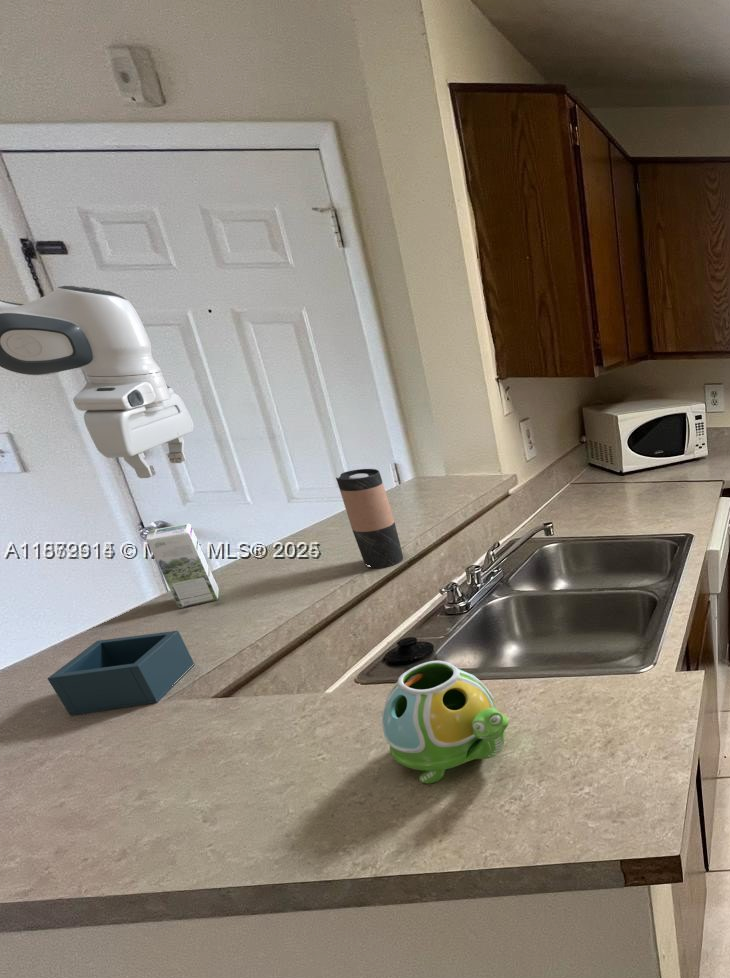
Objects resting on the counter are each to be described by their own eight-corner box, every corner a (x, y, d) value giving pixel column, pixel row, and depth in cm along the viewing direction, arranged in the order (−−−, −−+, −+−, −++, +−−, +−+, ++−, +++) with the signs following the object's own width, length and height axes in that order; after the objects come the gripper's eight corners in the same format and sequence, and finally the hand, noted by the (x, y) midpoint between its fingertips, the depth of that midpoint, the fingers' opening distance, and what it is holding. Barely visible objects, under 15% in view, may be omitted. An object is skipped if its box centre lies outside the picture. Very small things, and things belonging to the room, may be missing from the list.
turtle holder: (468, 811, 72) (444, 732, 67) (372, 761, 79) (345, 687, 74) (549, 745, 82) (533, 672, 77) (458, 706, 89) (438, 637, 84)
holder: (69, 715, 87) (46, 678, 84) (116, 675, 95) (97, 640, 93) (157, 702, 90) (137, 666, 87) (195, 664, 98) (178, 630, 96)
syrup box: (219, 589, 121) (190, 521, 115) (219, 600, 117) (188, 531, 111) (180, 597, 118) (148, 528, 112) (178, 609, 114) (144, 538, 108)
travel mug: (412, 559, 135) (387, 472, 126) (375, 572, 129) (347, 481, 120) (393, 551, 138) (367, 466, 130) (356, 564, 132) (327, 475, 124)
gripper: (146, 381, 112) (175, 455, 117) (64, 401, 94) (102, 487, 100) (189, 380, 113) (215, 453, 119) (116, 400, 96) (151, 485, 101)
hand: (163, 469), depth 109 cm, fingers open, 8 cm apart
